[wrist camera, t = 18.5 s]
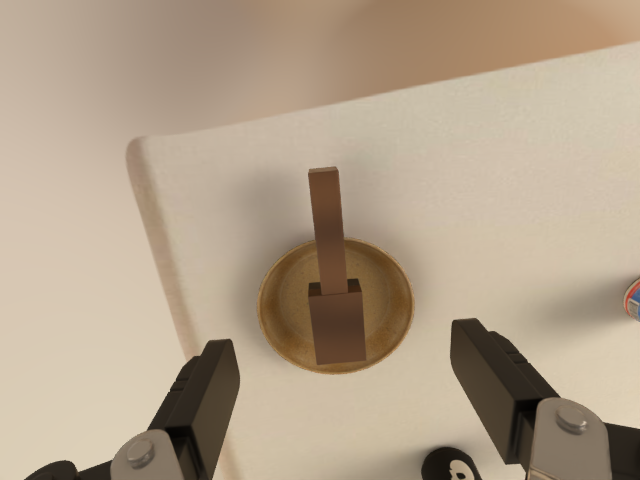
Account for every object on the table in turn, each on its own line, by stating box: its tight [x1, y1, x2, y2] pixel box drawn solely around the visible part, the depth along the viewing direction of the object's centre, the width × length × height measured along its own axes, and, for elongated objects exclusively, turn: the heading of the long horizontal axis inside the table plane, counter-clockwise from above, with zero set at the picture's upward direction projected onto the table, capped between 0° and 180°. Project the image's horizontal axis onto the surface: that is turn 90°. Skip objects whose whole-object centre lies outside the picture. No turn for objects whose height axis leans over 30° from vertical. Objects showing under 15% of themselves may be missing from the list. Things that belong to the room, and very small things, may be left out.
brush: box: [308, 167, 367, 365], centre depth 27 cm, size 17×4×3 cm, turn 6°
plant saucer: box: [257, 237, 414, 375], centre depth 31 cm, size 15×15×3 cm
